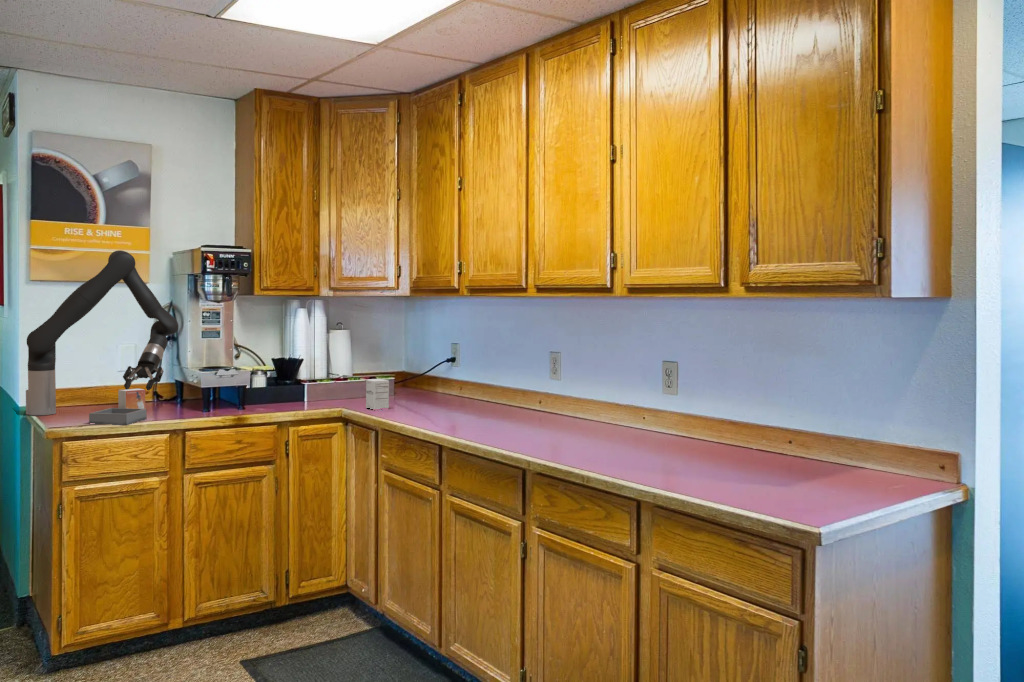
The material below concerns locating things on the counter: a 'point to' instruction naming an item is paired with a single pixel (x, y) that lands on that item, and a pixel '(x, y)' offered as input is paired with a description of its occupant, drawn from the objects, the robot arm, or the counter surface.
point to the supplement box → (377, 393)
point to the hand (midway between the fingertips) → (136, 388)
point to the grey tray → (117, 416)
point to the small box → (131, 398)
